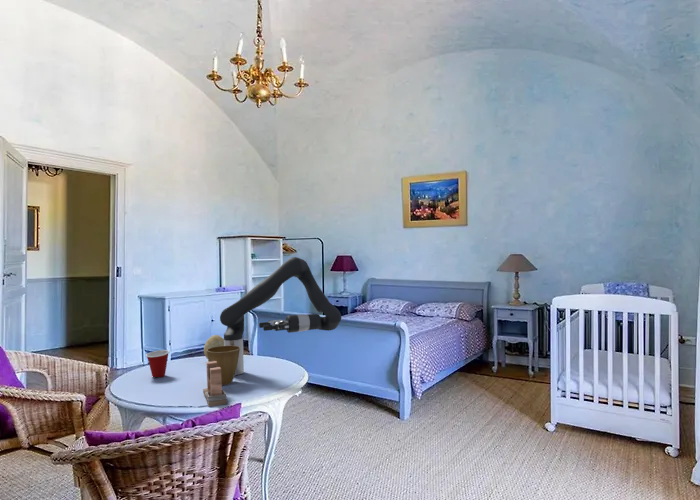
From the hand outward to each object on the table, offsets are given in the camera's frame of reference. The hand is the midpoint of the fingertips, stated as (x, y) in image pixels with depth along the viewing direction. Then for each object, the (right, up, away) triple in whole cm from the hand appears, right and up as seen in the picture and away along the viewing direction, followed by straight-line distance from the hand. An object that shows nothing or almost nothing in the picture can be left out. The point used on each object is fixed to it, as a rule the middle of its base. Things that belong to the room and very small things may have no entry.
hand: (261, 326), depth 198 cm
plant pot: (-20, -29, +16) cm, 39 cm away
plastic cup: (-57, -30, +31) cm, 72 cm away
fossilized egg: (-37, -30, +59) cm, 75 cm away
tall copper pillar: (-16, -27, -12) cm, 33 cm away
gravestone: (-18, -29, -6) cm, 35 cm away
